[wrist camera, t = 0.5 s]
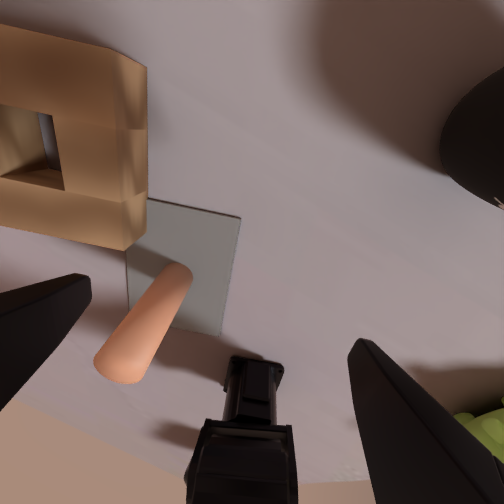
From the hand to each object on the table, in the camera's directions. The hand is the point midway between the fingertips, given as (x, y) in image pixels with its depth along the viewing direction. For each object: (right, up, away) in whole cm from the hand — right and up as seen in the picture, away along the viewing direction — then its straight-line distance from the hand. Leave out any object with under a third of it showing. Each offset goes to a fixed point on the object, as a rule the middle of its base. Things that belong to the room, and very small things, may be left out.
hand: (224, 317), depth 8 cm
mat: (-6, 0, +15) cm, 17 cm away
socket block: (-13, +10, +11) cm, 20 cm away
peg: (-6, 0, +15) cm, 16 cm away
